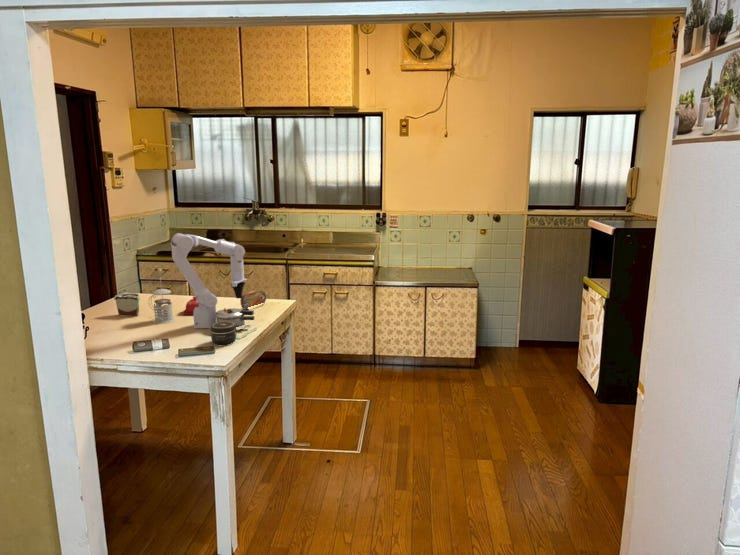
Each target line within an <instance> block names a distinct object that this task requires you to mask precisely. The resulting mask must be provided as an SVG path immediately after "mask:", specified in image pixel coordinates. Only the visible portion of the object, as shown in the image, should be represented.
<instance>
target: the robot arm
mask: <svg viewBox="0 0 740 555" xmlns="http://www.w3.org/2000/svg"><path fill="white" fill-rule="evenodd" d="M169 245H170V247H171V258H172V261H173V262H174V264H175V265H176V266H177V268H178V269H179V271H180V273H181V274H182V275H183V277H184V278H185V279H186V281H187V282H188V284H189V286H190V287H191V289H192V290H193V294H194V296H196V300H197V302H198V303H199V307H195V308H194V312H193V314H192V315H193V326H194V327H193V329H211V325H212V324H214V323H217V318H216V314H215V313H216V312H217V306H216V305H217V304H218V297H217V296H216V295H215V294H213V293H212V292H211V291H210V290H209V288H207V287H206V286H205V284H204V282H203V281H202V280H201V278H200V276H199V275H198V274H197V272H196V270H195V269H194V267H193V266H192V265H191V263H190V262H189V260H188V259H187V257H188V254H189V253H190V251H191V250H192V248H193V247H197V246H199V245H200V246H204V247H208V248H213V249H214V251H215V252H217V253H220V254H225V255H227V256H229V257H230V273H231V279H230V280H231V284H230V285H231V288H232V289H233V292H234V294H235V297H236V299H241V298H242V296H243V292H244V287H245V285H246V281H247V280H248V278H245V271H244V270H245V269H244V256H245V254H246V250H245V247H244V246H243V245H241V244H238V243H235V242H234V241H227V240H226V238H225V239H224V238H221V239H217V240H212V239H209V238H205V237H202V236H198V235H195V234H187V233H184V234H183V233H181V232H177V233H175V234H174V235H172V238H171V241H170V244H169Z"/></svg>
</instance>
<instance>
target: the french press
mask: <svg viewBox="0 0 740 555" xmlns="http://www.w3.org/2000/svg"><path fill="white" fill-rule="evenodd" d="M162 271H163V270H162V268H157V272H162ZM161 276H162V275H159V279H160V282H159V283H162V279H161V278H162V277H161ZM162 287H163V286H160V288H159V289H157V290H154V291H153V292H152V295H151V296H150V297H149V298H148V300H153V299H152V298H156V297H157V296H166V295H170V294H171V292H172V291H171V290H169V289H167V288H162ZM148 305H149V308H150V309H151V310H153V312H154V319H153V321H152V322H154V324H156V323H157V325H162V324H163V325H165V324H171V323H173V322H175V321H176V318H175V317H173V316H174V315H173V305H172V302H171V299H170V298H163V297H161V298H160V299H155V300H154V304H153V303H152V301H150V303H148Z"/></svg>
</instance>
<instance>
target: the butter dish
mask: <svg viewBox="0 0 740 555" xmlns="http://www.w3.org/2000/svg"><path fill="white" fill-rule="evenodd" d="M195 307H199V303H198V302H197V300H196V295H194V296H192V299H189V300H188V301H187V302H186V304H185V309H184V310H183V311H182V313H181V314H182V315H193V312H194V308H195Z"/></svg>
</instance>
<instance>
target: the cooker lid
mask: <svg viewBox="0 0 740 555" xmlns="http://www.w3.org/2000/svg"><path fill="white" fill-rule="evenodd" d="M254 311H255V310H253V309H250V310H247V309H243V308H235V307H233V308H232V307H231V308H227V307H224V308H223V309H219V310H216V313H215V314H216V317H218V318H222V319H231V318H238V317H241V316H243V315H244V316H254V314H255V312H254Z"/></svg>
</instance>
